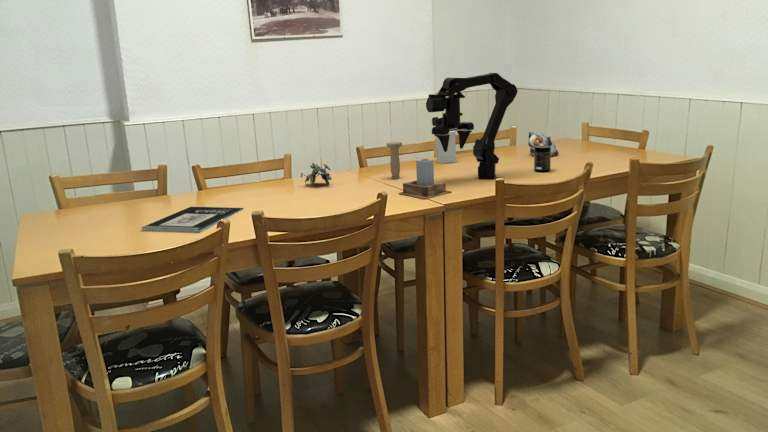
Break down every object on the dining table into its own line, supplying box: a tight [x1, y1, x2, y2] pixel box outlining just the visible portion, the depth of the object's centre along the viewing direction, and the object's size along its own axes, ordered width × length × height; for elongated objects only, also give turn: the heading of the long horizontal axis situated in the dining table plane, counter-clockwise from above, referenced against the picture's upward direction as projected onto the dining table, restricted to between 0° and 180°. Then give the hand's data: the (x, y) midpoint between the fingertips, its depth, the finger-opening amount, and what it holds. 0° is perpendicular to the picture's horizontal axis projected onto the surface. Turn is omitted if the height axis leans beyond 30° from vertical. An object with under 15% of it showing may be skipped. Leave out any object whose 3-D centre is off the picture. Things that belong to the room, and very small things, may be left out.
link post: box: [415, 158, 435, 186], centre depth 237 cm, size 4×4×12 cm
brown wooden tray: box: [398, 179, 452, 201], centre depth 238 cm, size 14×14×4 cm
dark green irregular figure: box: [300, 162, 333, 187], centre depth 261 cm, size 11×11×12 cm
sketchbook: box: [140, 206, 244, 234], centre depth 216 cm, size 22×30×2 cm
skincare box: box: [434, 130, 457, 165], centre depth 297 cm, size 8×6×15 cm
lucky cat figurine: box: [527, 131, 560, 157], centre depth 303 cm, size 15×12×14 cm
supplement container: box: [533, 145, 552, 173], centre depth 268 cm, size 7×7×10 cm
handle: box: [386, 141, 403, 180], centre depth 266 cm, size 5×6×15 cm
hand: (453, 150), depth 252 cm, fingers open, 9 cm apart
